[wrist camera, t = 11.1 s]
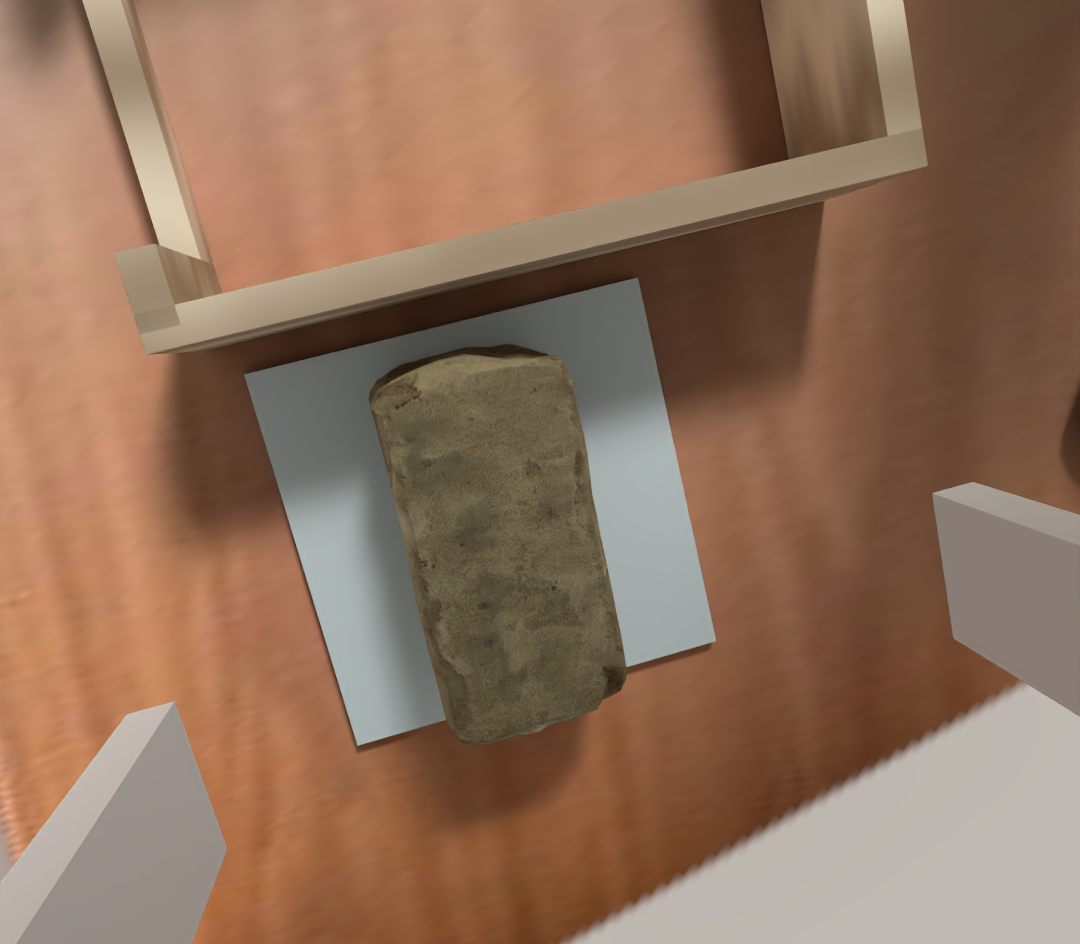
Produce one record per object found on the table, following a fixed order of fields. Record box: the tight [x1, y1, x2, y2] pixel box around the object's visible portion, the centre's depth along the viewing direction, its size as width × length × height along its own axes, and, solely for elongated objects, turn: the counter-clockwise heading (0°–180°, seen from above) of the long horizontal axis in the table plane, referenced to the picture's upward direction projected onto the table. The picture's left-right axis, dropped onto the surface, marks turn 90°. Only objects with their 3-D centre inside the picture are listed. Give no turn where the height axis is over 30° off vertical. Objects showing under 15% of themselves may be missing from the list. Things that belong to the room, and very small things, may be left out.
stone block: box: [368, 344, 627, 745], centre depth 26 cm, size 6×12×5 cm, turn 13°
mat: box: [244, 278, 716, 745], centre depth 29 cm, size 13×13×1 cm
